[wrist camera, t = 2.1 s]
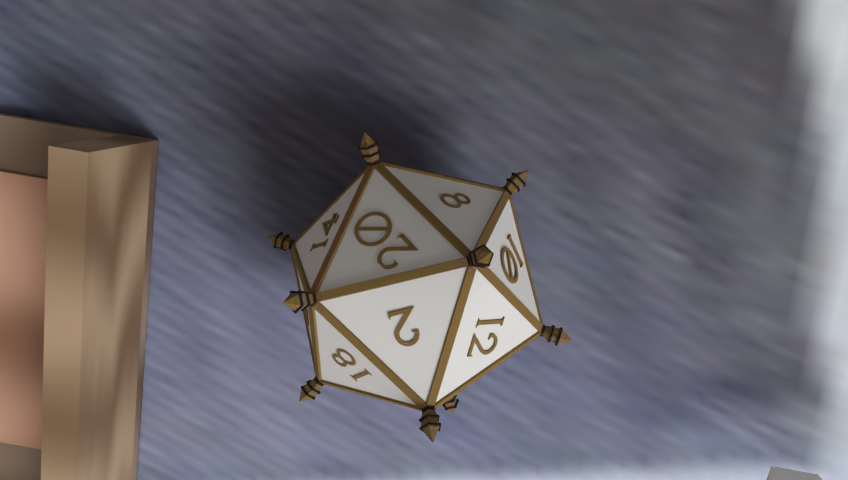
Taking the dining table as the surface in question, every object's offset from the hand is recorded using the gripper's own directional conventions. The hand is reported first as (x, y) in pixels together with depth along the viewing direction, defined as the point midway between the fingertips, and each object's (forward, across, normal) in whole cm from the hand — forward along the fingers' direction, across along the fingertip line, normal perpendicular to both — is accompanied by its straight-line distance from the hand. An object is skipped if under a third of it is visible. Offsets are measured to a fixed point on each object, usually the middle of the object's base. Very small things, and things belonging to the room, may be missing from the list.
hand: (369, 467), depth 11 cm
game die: (+14, 0, 0) cm, 14 cm away
